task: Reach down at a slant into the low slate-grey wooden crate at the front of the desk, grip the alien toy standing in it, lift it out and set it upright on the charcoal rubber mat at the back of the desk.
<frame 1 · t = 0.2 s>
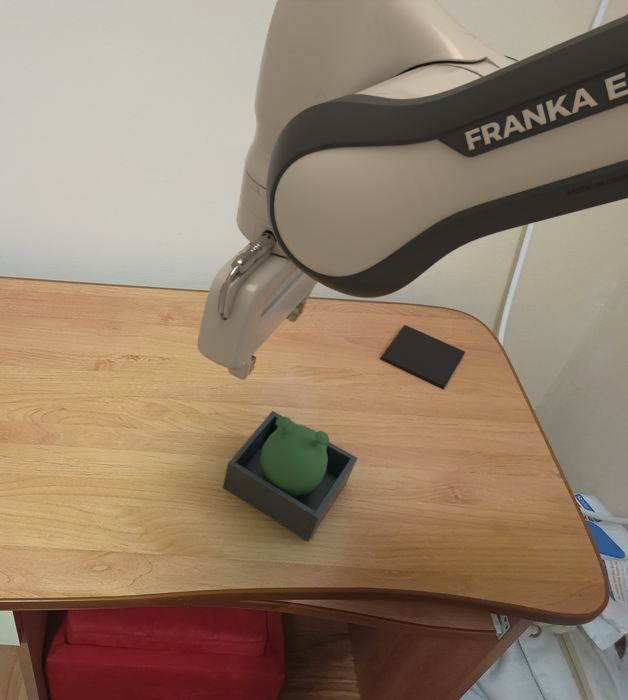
hand: (266, 342, 56), 21 cm above the table, tool pointing down, fingers open, 8 cm apart
crate: (285, 484, 70), on the table
mat: (422, 356, 88), on the table
alien toy: (286, 483, 70), resting on crate
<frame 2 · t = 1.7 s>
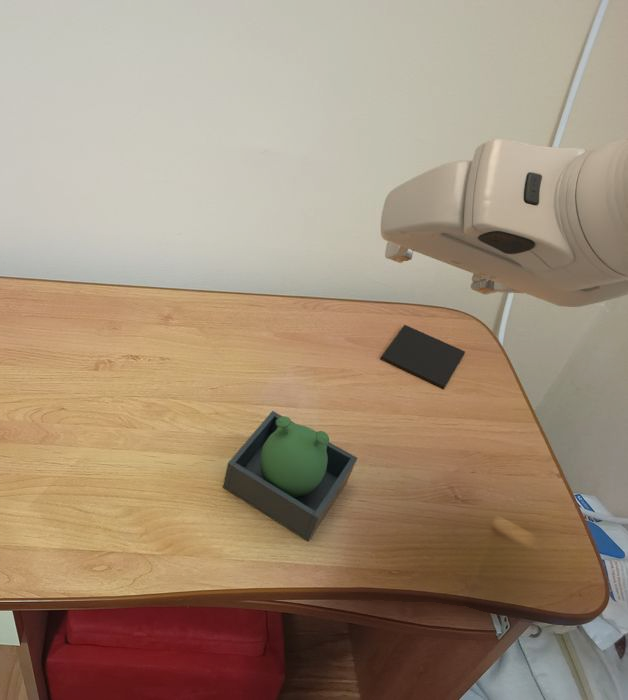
hand: (435, 268, 56), 27 cm above the table, tool tilted 45°, fingers open, 8 cm apart
nothing on the table moved.
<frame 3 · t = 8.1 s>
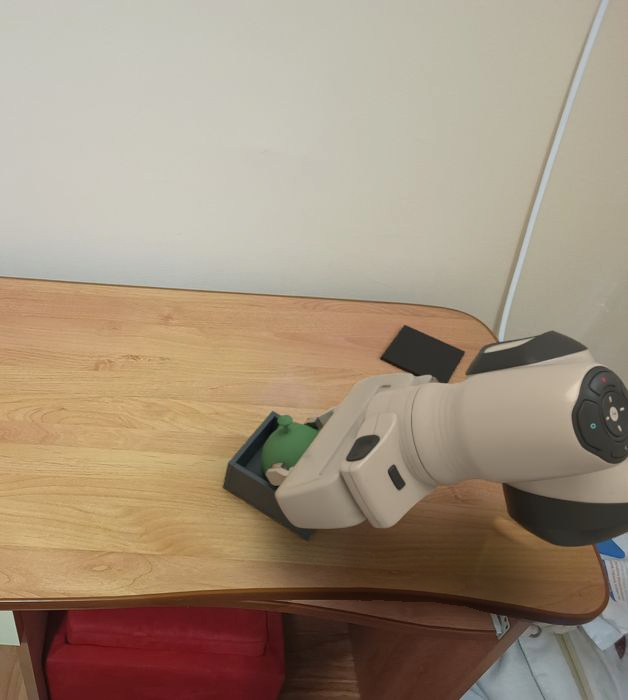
hand: (290, 449, 67), 6 cm above the table, tool tilted 45°, fingers closed on alien toy, 7 cm apart
alien toy: (286, 482, 70), resting on crate, touching gripper
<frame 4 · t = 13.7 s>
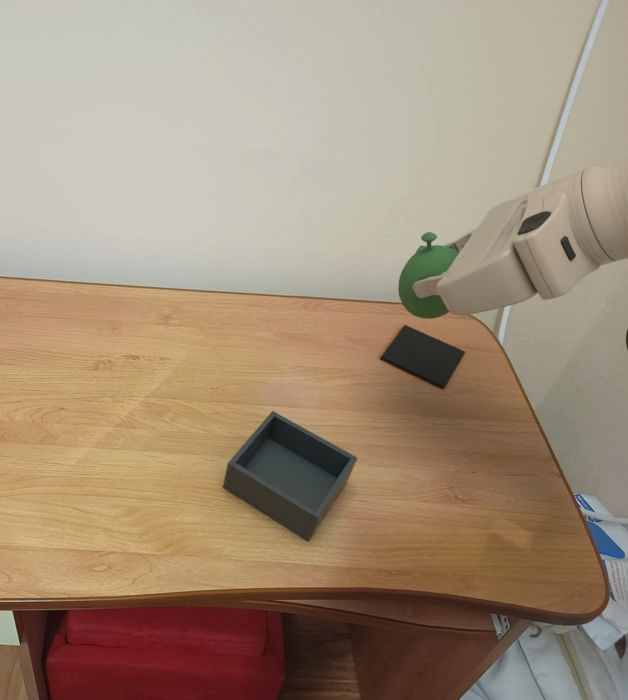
hand: (430, 271, 69), 19 cm above the table, tool tilted 45°, fingers closed on alien toy, 7 cm apart
alien toy: (419, 312, 73), point 14 cm above the table, touching gripper
when the fingers open (6 cm above the table, at t = 19.2 s): alien toy stays where it is, resting on mat.
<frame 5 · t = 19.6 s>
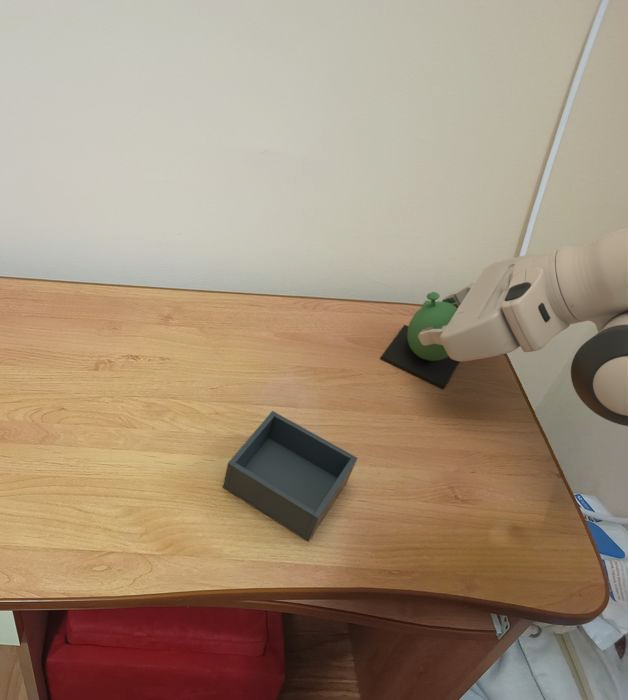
hand: (433, 319, 84), 6 cm above the table, tool tilted 45°, fingers open, 8 cm apart
alien toy: (424, 354, 88), resting on mat
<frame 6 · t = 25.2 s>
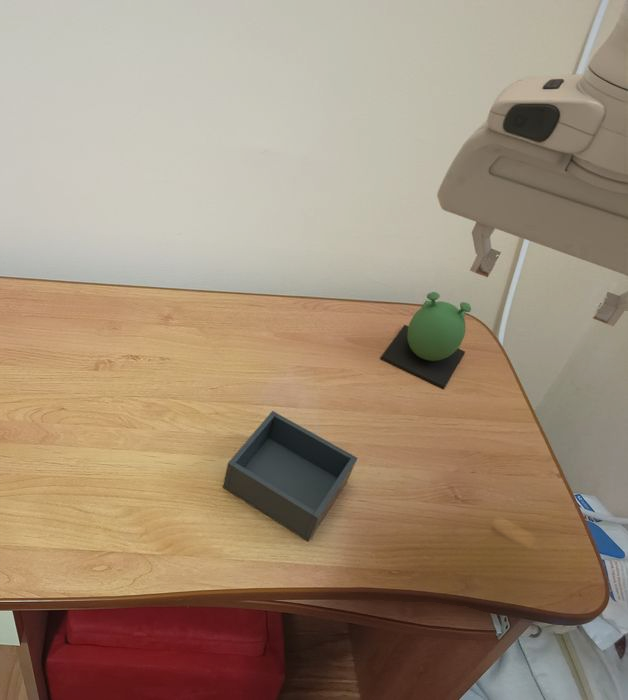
hand: (539, 294, 50), 29 cm above the table, tool pointing down, fingers open, 8 cm apart
nothing on the table moved.
at the end: alien toy inside the target area on the mat (0.3 cm from its centre), point 0.3 cm above the mat's base; alien toy touching mat; alien toy tilted 0° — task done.
